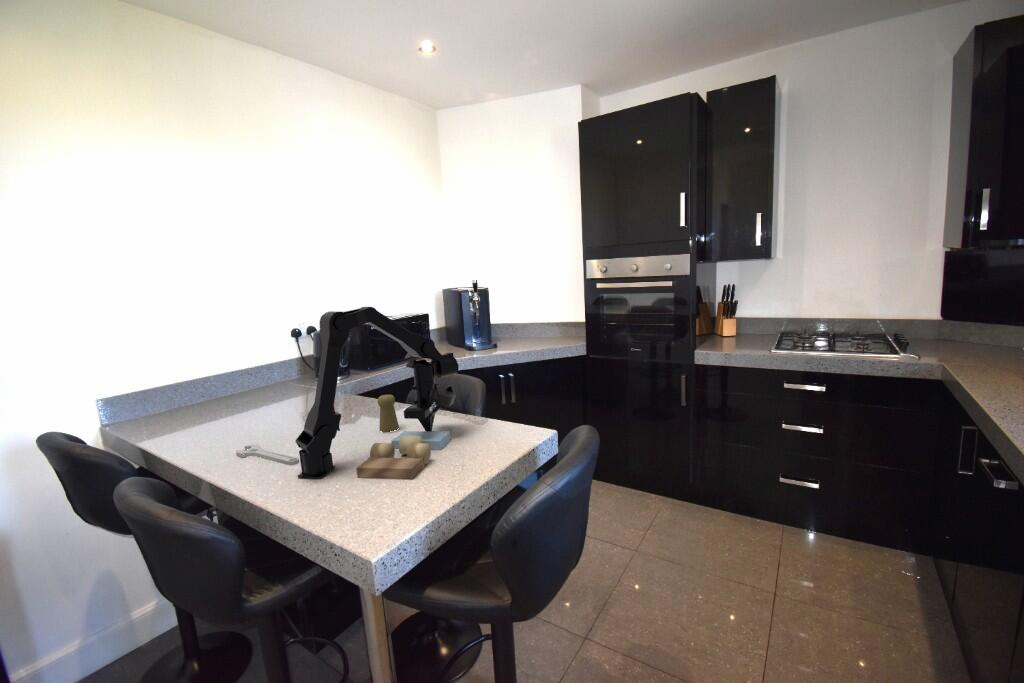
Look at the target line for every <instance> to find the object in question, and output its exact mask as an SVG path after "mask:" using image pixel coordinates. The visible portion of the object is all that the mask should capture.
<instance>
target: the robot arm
mask: <svg viewBox="0 0 1024 683" xmlns="http://www.w3.org/2000/svg"><path fill="white" fill-rule="evenodd" d="M365 324H367V325H369V326H371V327H373V328H374V329H376V330H377V331H379V332H380V333H382V334H384V335H386V336H388V337H389V338H390V339H393V340H394V341H396V342H397V343H399V345H400V346H401V347H402V348H403V349H404V350H405V351H406V352H407V353H408V354H409V355H411V356H412V357H415V358H421V359H415V358H410V360H409V361H408V362H407V363H406V365H405V367H406V368H409V369H413V378H414V380H413V381H414V384H413V385H412V386H411V387H412V390H413V391H414V392H415V399H413V404H410V405H409V406H407V407H406V408H405V409H404V410H403V418H404V419H405V420H407V419H408V420H410V419H414V420H415V419H416V420H418V421H419V424H421V426H422V428H423V429H424V431H433V426H434V421H435V417H436V414H437V412H438V411H439V410H440V409H441V406H443V407H445V408H450V407H451V406H452V405H454V403H455V399H456V398H457V392H456V391H455V386H453V385H449V386H448V387H446V389H445V388H441V387H440V386H439V383H438V382H437V381H436V378H437V379H440V378H445V377H450V376H453V375H456V374H458V372H459V366H460V365H459V363H458V361H457V359H456V357H455V356H454V352H445V353H442V354H441V352H440V351H439V350H438V349H437V348H436V345H435V344H436V343H435V341H434V340H433V339H431V338H429V337H427V336H424V335H423V334H419V333H415V332H412V331H410V330H408V329H407V328H405V327H404V326H402V325H400V324H399V323H397V322H396V321H394V320H392V319H391V318H390V317H388V316H386V315H385V314H383V313H382V312H380V311H378V310H377V309H376V308H375V307H373V306H362V307H360V308H356V309H352V310H346V311H334V310H332V311H331V310H330V311H327V312H325V313H324V314H322V315H321V316H320V318H319V336H320V341H321V346H322V347H321V348H322V349H321V355H320V362H319V370H318V374H317V375H318V376H317V382H316V383H317V384H316V387H315V388H316V391H315V396H314V402H313V405H312V406H311V408H310V410H309V412H308V413H307V416H306V419H305V422H304V425H303V430H302V431H301V433H300V434H299V435H298V436H297V437H296V439H295V443H296V445H297V447H298V448H299V449H300V450H299V451H298V454H299V463H300V468H301V473H299V474H298V475H297V478H298V479H322V478H324V477H325V476H327V475H328V474H330V473H331V472H333V471H334V470H335V469H337V465H334V463H333V454H332V452H331V447H332V442H333V439H335V438H336V436H337V433H338V432H340V431H341V429H340V424H341V423H340V422H341V419H342V413H339V412H337V411H336V409H335V402H336V401H335V400H336V393H337V386H338V381H339V380H338V378H339V372H340V366H341V365H340V364H341V358H342V353H343V348H344V346H345V344H346V343H347V341H348V339H349V337H350V336H351V335H350V334H351V331H352V329H354V328H357V327H360V326H361V327H362V326H363V325H365ZM428 360H430V361H428ZM435 377H436V378H435ZM437 404H438V405H441V406H437Z"/></svg>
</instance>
